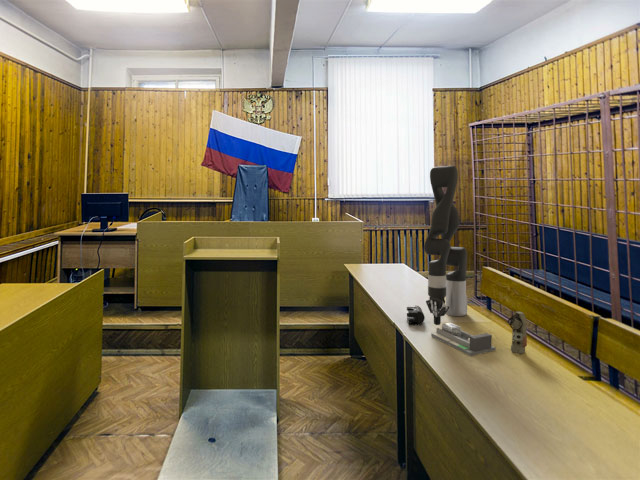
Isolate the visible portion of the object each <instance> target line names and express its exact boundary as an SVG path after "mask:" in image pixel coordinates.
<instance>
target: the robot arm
mask: <svg viewBox="0 0 640 480" xmlns="http://www.w3.org/2000/svg"><path fill="white" fill-rule="evenodd" d="M458 171H459V170H458V168H457V167H456V166H455V165H442V166H433V167H431V169H430V172H429V179H430V184H431V185H430V186H431V190H432V193H433V198H434V201H435V202H434V203H435V208H434V209H433V212H432V215H431V222H430V228H429V231H428V233H427V237H426V239H425V241H424V244H423V250H424V252H425V253H426V255H429V256H439V258H438V259H436V260H435V259H434V260H431V261H429V263H428V277H427V296H429V297H428V300H425V304H426V306H427V309H428V310H429V313H430V314H432V316H433V324H434V325H435V326H440V325H441V318H442V317H444V316H445V315H448V316H451V317H463V316H465V315H468V295H467V281H466V280H467V263H468V262H467V261H468V251H467V248H465V247H461V246H451V240H452V238H453V236H454V235H455V233H456V232H457V230H458V229H459V226H460V217H459V211H458V209H457V208H456V206H455V205H454V204H453V201H454V198H455V192H456V188H457V185H458V180H459V179H458V178H459V172H458ZM443 188H446V190H445V192H444V190H443ZM439 236H440V238H437V237H439ZM447 266H450V267H457V269H456V270H454V271H449V272H447Z"/></svg>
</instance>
